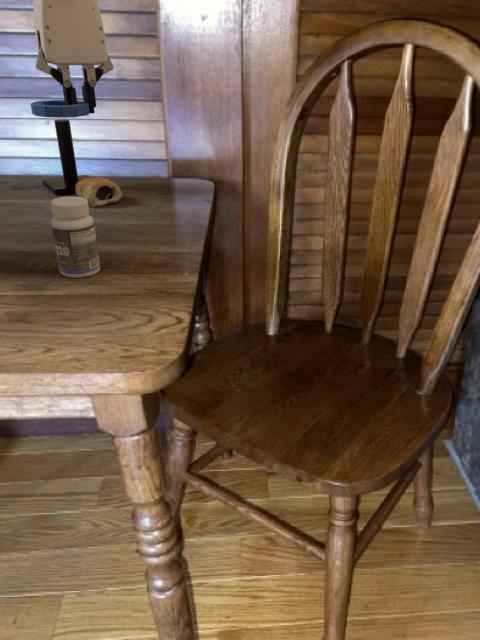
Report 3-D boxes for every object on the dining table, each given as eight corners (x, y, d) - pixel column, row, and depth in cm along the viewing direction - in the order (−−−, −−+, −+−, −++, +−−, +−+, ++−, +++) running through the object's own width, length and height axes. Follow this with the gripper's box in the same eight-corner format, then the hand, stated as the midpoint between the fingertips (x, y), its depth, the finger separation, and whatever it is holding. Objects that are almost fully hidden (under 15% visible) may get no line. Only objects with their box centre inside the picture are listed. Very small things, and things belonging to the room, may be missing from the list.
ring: (41, 118, 89) (39, 107, 88) (27, 111, 95) (25, 100, 94) (96, 116, 93) (95, 105, 93) (79, 109, 100) (78, 99, 99)
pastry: (67, 195, 96) (63, 172, 94) (105, 190, 100) (103, 168, 98) (87, 208, 90) (84, 184, 88) (128, 203, 93) (125, 179, 91)
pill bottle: (53, 269, 68) (39, 198, 64) (90, 261, 71) (80, 192, 67) (69, 282, 65) (56, 208, 61) (107, 272, 68) (97, 202, 64)
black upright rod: (55, 195, 96) (43, 125, 90) (42, 185, 101) (30, 118, 96) (102, 190, 100) (93, 122, 94) (87, 180, 105) (78, 115, 100)
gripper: (106, -15, 93) (119, 108, 103) (2, -23, 85) (27, 112, 95) (123, -17, 88) (135, 113, 97) (14, -24, 80) (39, 118, 89)
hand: (81, 111), depth 96 cm, fingers closed on ring, 2 cm apart
